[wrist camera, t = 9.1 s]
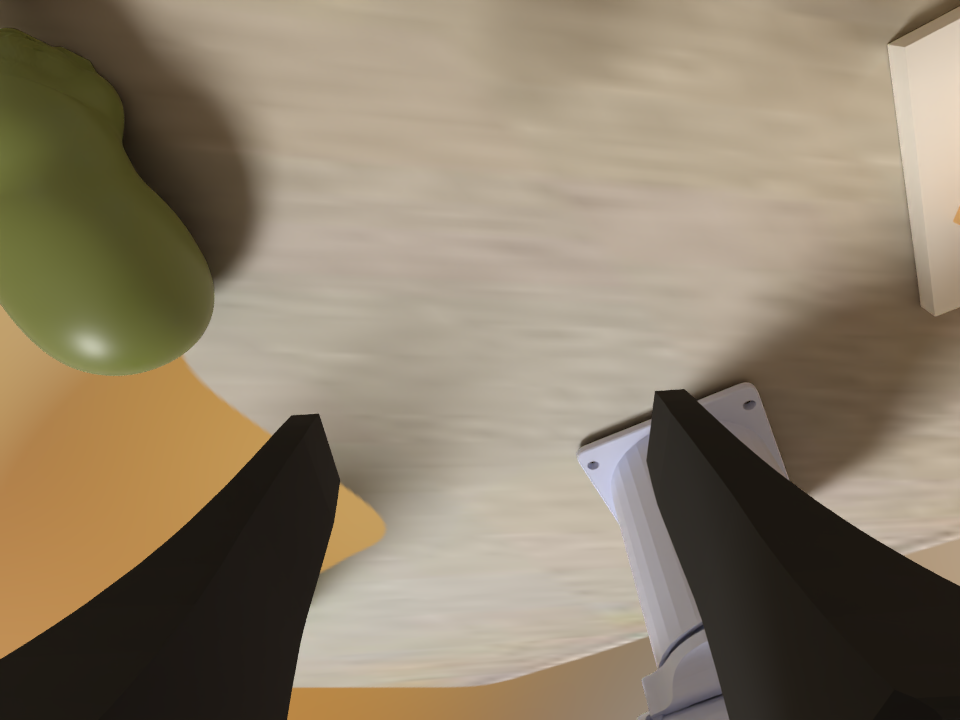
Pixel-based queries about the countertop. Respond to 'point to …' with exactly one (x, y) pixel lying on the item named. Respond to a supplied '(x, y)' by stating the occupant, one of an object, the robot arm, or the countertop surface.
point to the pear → (87, 224)
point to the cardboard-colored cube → (957, 217)
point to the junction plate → (931, 152)
